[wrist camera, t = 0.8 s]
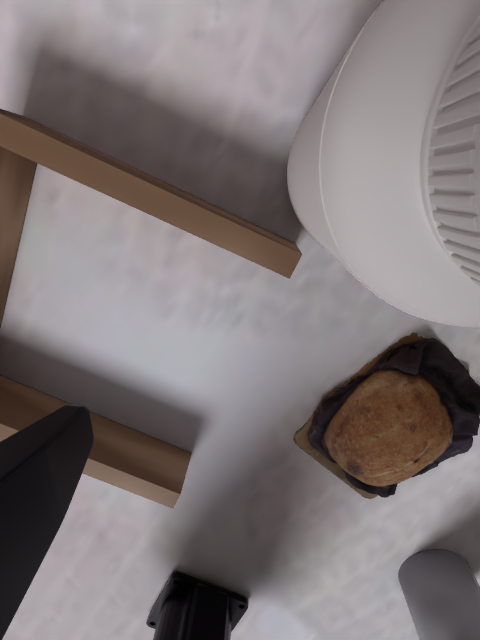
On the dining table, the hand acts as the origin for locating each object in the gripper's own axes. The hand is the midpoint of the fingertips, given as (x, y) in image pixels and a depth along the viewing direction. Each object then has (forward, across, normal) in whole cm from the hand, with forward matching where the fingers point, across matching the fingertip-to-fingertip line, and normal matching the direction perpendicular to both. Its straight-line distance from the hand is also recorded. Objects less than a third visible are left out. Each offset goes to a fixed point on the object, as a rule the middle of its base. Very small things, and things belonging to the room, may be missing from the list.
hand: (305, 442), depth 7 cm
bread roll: (+13, -7, +10) cm, 18 cm away
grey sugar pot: (+11, -13, +22) cm, 28 cm away
